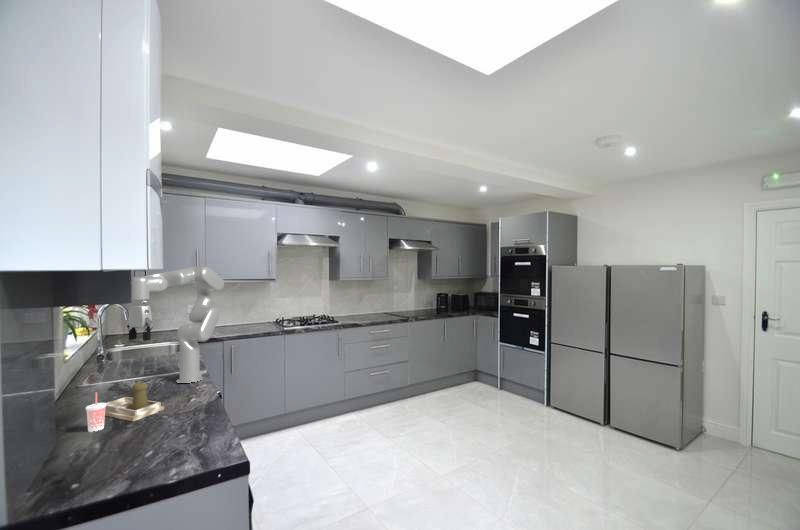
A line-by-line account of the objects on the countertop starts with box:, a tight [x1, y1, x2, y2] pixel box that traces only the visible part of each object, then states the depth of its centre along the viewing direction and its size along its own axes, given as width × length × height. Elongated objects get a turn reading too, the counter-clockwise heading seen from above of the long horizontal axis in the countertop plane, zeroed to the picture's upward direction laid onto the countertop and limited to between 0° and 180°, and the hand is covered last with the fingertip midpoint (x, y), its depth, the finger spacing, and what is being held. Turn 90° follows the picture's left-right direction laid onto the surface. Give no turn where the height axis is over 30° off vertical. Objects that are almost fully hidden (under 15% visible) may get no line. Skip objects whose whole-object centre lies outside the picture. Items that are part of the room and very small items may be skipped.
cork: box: [131, 382, 148, 410], centre depth 151 cm, size 6×6×11 cm
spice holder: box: [105, 396, 165, 422], centre depth 153 cm, size 13×24×4 cm, turn 69°
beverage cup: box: [85, 392, 107, 433], centre depth 136 cm, size 6×6×14 cm
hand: (139, 339), depth 168 cm, fingers open, 9 cm apart
